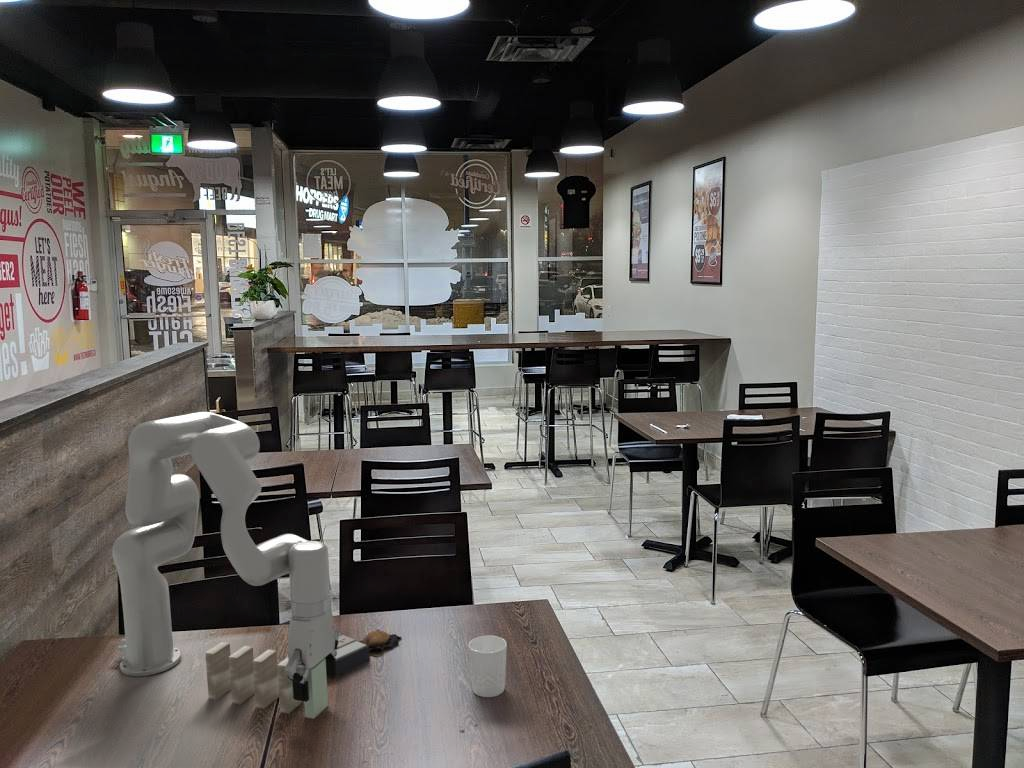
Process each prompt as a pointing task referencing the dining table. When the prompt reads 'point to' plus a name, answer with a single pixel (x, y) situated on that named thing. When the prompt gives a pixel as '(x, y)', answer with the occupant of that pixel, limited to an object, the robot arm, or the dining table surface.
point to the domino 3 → (266, 679)
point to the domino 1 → (218, 670)
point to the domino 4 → (286, 689)
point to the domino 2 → (242, 674)
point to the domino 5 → (316, 690)
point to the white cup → (488, 665)
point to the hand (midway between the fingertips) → (315, 687)
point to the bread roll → (380, 642)
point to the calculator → (349, 654)
